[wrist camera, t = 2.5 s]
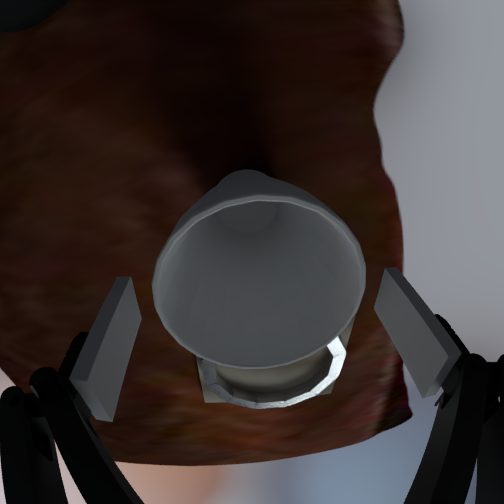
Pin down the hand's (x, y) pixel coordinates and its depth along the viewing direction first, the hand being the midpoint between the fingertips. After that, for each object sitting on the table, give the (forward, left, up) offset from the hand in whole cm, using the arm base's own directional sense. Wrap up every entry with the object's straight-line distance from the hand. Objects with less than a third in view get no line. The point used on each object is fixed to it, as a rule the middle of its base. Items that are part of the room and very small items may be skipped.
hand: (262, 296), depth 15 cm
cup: (0, 0, -13) cm, 13 cm away
